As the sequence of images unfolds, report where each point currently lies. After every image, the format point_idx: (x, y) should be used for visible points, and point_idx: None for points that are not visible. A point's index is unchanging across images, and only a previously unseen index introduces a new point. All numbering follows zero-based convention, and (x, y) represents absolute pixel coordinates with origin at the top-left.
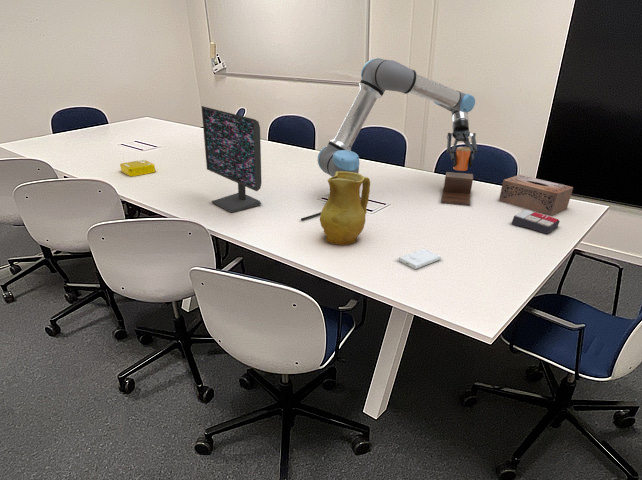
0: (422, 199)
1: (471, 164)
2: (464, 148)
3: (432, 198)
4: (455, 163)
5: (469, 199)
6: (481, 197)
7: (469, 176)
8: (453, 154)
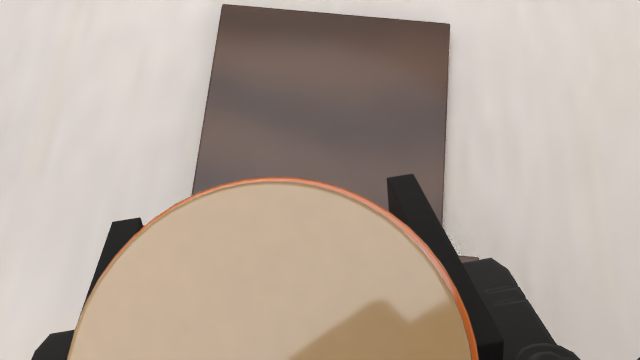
0: (602, 92)
1: (130, 222)
2: (250, 342)
3: (522, 133)
4: (408, 180)
5: (212, 104)
6: (82, 247)
7: None
8: (498, 323)
